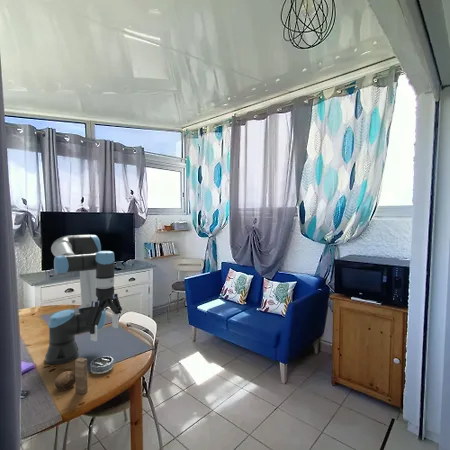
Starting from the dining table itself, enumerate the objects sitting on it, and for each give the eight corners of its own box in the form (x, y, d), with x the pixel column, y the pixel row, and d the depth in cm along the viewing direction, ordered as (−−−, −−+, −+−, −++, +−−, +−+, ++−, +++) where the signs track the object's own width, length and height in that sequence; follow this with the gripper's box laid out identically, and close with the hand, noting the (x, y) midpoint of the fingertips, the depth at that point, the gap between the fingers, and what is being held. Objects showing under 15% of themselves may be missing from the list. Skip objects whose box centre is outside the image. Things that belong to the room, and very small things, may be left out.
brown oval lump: (61, 372, 126) (62, 365, 122) (78, 378, 126) (80, 372, 123) (50, 390, 119) (50, 383, 116) (68, 396, 120) (69, 390, 116)
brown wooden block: (82, 394, 116) (82, 361, 115) (75, 392, 117) (75, 360, 117) (87, 391, 118) (87, 359, 118) (80, 389, 119) (79, 357, 119)
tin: (102, 376, 129) (102, 368, 129) (85, 371, 132) (85, 364, 132) (117, 365, 138) (117, 358, 138) (101, 361, 142) (101, 354, 142)
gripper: (91, 295, 109) (91, 348, 110) (129, 280, 133) (129, 324, 134) (75, 293, 111) (75, 345, 112) (116, 279, 135) (116, 322, 136)
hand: (105, 333), depth 123 cm, fingers open, 13 cm apart
